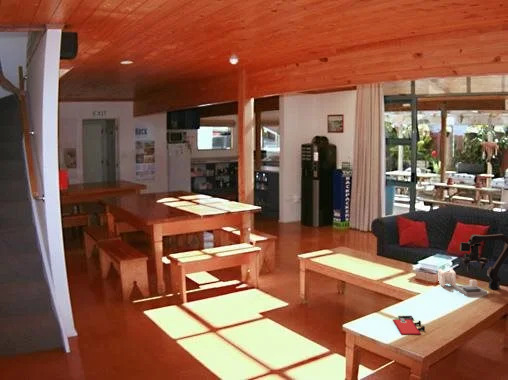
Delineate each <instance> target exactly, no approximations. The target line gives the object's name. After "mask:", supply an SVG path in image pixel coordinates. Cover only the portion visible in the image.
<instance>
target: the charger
mask: <svg viewBox="0 0 508 380" xmlns="http://www.w3.org/2000/svg"><path fill="white" fill-rule="evenodd" d="M468 281H469V282H468V285H469V287H477V286H478V281H477V280H476V279H468Z"/></svg>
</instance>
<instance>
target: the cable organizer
mask: <svg viewBox="0 0 508 380" xmlns="http://www.w3.org/2000/svg"><path fill="white" fill-rule="evenodd" d="M437 270H438V272H437V273H438V275H437V277H438V279H437V281H439V282H438V284H439V285H440V287H443V288H444V287H445V286H446V285H450V286H452V287H453V288H454V286H457V284H456V282H457V280H456V278H457V273H456V271H455V270H454V269H453V268H449V271H444V270H443V269H442V268H438V269H437Z"/></svg>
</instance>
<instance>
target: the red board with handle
mask: <svg viewBox="0 0 508 380" xmlns="http://www.w3.org/2000/svg"><path fill="white" fill-rule="evenodd" d="M397 317H398V318H399V319H392V322H393V323H394V325H395V326H396V329H397V330H398V332H399V333H400V335H402V336H422V333H421V331H422V332H425V331H426V330H425V329H426V327H425V325H422V322H421V320H418V321H417V322H414V321H413V320H414V317H413V315H398V316H397ZM417 326H422V327H419V328H418V327H417Z"/></svg>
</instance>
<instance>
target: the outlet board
mask: <svg viewBox="0 0 508 380" xmlns="http://www.w3.org/2000/svg"><path fill="white" fill-rule="evenodd" d="M463 287H469V284H467V285H465V284H464V285H463V284H462V285H456V286H454V287H453V288H454V290H455V291H456V292H458V291H459V292H458V293H460V294H462V295H463V294H464V295H463V296H466V297H472V296H475V297H476V296H477V297H478V296H488V291H487V290H485V289H483V288H482V287H480V286H478V285H477V287H478V288H479V289H481V290H480V292H465V291H464V290H463Z"/></svg>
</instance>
